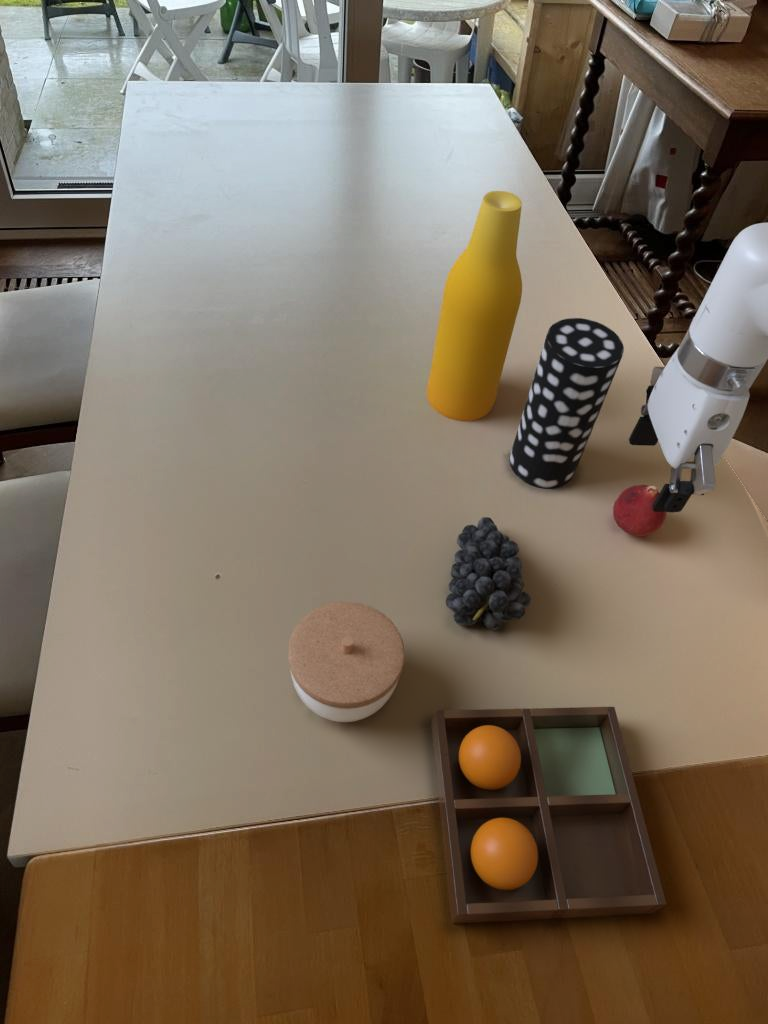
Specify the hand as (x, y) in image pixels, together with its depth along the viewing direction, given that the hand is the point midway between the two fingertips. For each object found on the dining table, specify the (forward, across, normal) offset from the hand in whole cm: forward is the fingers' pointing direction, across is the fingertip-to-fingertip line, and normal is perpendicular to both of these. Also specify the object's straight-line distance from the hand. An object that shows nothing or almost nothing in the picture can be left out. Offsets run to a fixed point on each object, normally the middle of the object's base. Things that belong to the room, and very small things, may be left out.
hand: (653, 475), depth 87 cm
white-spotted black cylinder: (+10, +10, +8) cm, 16 cm away
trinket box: (+10, -20, +34) cm, 41 cm away
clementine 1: (+6, -29, +22) cm, 37 cm away
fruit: (+10, -8, +18) cm, 23 cm away
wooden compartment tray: (+9, -33, +18) cm, 39 cm away
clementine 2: (+6, -38, +22) cm, 44 cm away
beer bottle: (+10, +22, +18) cm, 30 cm away
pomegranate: (+10, 0, 0) cm, 10 cm away
